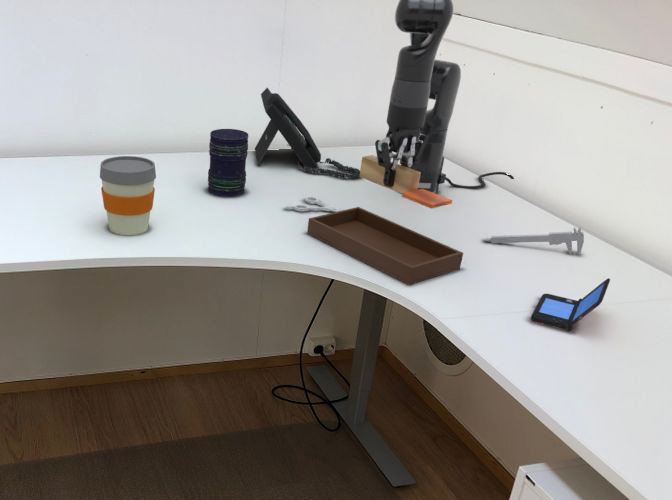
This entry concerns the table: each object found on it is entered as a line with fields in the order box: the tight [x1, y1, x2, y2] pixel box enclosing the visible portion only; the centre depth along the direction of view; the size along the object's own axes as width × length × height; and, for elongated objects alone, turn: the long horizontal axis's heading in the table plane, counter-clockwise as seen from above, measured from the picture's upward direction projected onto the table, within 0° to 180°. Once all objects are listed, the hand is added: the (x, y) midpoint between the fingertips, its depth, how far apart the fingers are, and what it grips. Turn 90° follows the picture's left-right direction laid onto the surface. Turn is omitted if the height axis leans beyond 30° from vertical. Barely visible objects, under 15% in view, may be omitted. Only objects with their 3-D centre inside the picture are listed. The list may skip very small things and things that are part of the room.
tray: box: [306, 206, 464, 286], centre depth 175 cm, size 16×32×4 cm, turn 34°
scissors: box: [285, 196, 344, 213], centre depth 196 cm, size 11×1×20 cm
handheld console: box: [530, 277, 611, 332], centre depth 149 cm, size 12×11×7 cm
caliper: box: [484, 226, 585, 255], centre depth 178 cm, size 20×1×6 cm, turn 72°
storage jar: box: [207, 128, 249, 198], centre depth 203 cm, size 10×10×15 cm
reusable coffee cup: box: [99, 155, 157, 236], centre depth 179 cm, size 13×13×15 cm
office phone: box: [254, 87, 360, 180], centre depth 225 cm, size 29×28×20 cm
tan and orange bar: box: [359, 154, 453, 210], centre depth 166 cm, size 6×22×4 cm, turn 34°
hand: (394, 184), depth 168 cm, fingers closed on tan and orange bar, 3 cm apart
